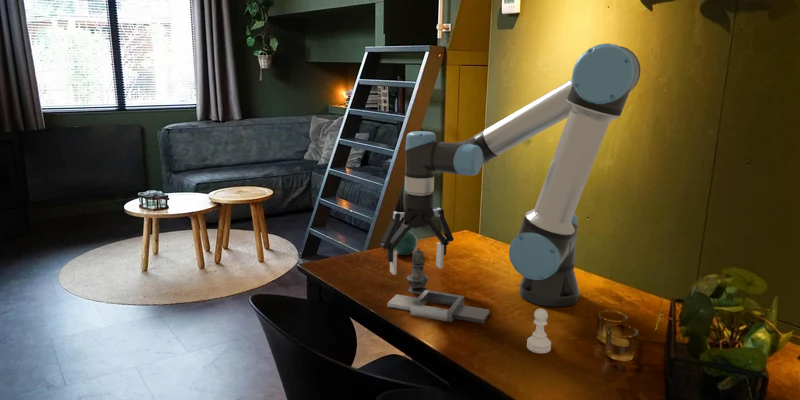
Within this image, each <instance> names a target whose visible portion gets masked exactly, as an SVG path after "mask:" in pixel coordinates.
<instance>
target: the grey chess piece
mask: <svg viewBox="0 0 800 400" xmlns="http://www.w3.org/2000/svg"><path fill="white" fill-rule="evenodd" d="M410 265H411V274H409V275H407V276H406V280H407V283H408V284H409V287H408V288H407V292H408V293H410V294H413V295H421V294H422V293H423V292H424V291H425V290H428V288H427V287H426V285H427V284H428V280H429V276H427V275H426V274H425V272H424V266H425V263H424V252H423V251H421V250H420V248H419V247H416V249H415V251H414V252H412V262H411V263H410Z"/></svg>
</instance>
